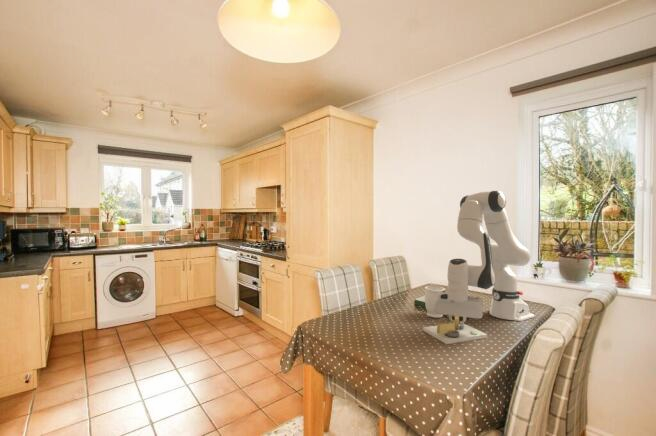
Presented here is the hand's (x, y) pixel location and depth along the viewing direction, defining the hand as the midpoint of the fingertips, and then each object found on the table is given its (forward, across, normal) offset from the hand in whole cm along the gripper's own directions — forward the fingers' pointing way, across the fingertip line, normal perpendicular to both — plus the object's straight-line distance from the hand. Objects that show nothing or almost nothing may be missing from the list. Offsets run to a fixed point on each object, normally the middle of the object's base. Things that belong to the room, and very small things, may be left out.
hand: (457, 325), depth 138 cm
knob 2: (+3, 0, -3) cm, 4 cm away
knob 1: (+3, +4, +7) cm, 8 cm away
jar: (+4, +10, -24) cm, 27 cm away
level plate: (+4, +1, -1) cm, 5 cm away
